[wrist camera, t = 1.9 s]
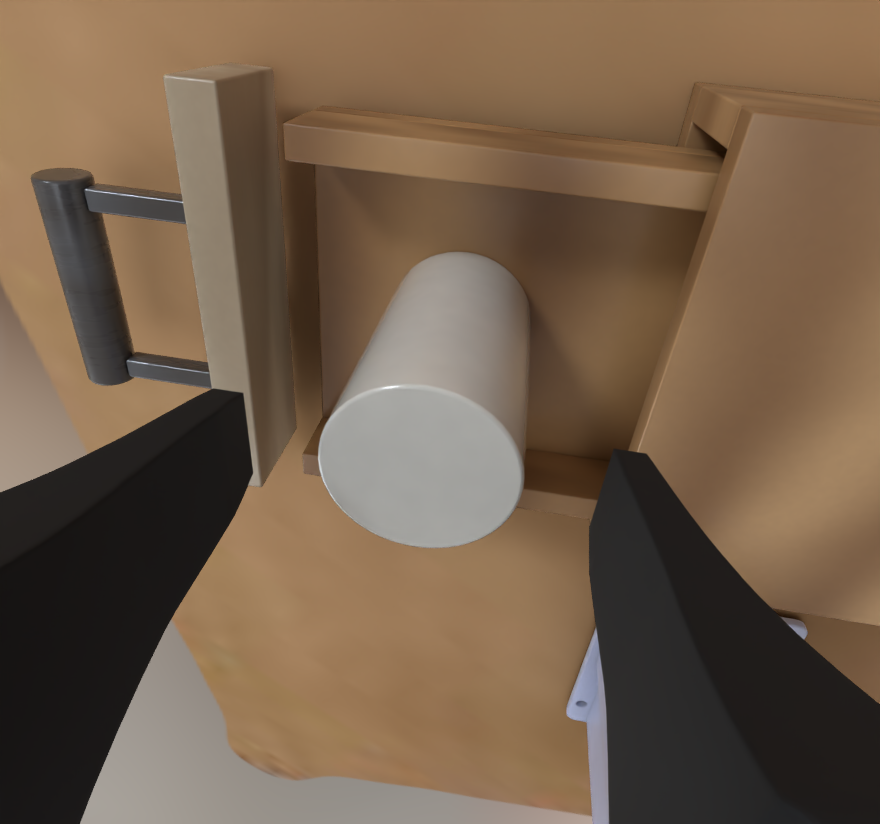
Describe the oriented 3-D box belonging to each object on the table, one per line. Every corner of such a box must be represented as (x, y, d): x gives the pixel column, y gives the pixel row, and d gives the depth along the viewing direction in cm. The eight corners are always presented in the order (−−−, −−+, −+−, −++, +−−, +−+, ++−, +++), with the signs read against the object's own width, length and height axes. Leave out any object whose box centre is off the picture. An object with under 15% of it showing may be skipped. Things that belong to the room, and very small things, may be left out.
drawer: (147, 405, 22) (91, 460, 19) (62, 44, 16) (-38, 51, 13) (641, 481, 21) (656, 552, 18) (770, 122, 14) (823, 149, 12)
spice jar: (519, 388, 18) (507, 563, 12) (389, 369, 18) (320, 532, 13) (543, 260, 16) (541, 404, 10) (394, 241, 16) (313, 370, 10)
